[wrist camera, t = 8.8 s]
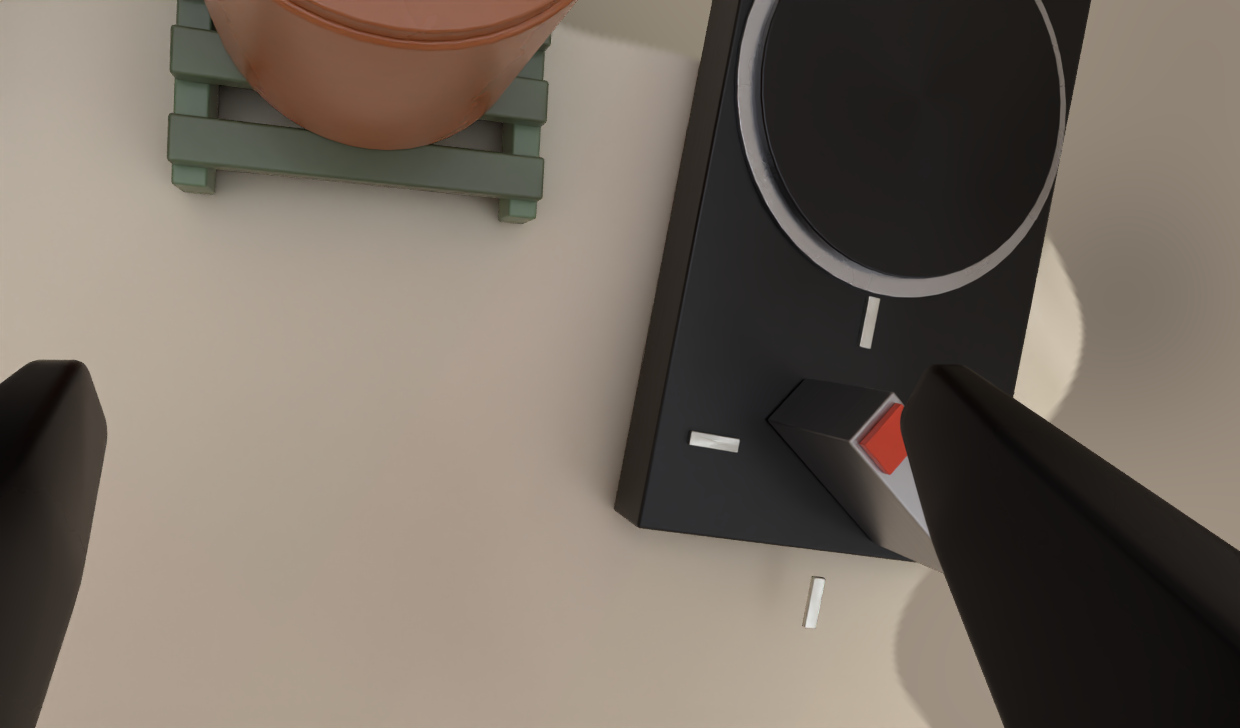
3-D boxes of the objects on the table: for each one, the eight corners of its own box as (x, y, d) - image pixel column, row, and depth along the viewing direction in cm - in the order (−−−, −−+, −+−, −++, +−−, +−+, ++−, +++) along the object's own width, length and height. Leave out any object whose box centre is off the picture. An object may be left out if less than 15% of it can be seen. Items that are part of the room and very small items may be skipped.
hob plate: (1022, 330, 25) (1035, 331, 24) (698, 251, 21) (706, 249, 21) (1091, -25, 25) (1106, -31, 24) (778, -162, 21) (788, -172, 21)
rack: (524, 223, 22) (552, 212, 19) (181, 191, 19) (156, 173, 17) (542, -132, 22) (574, -198, 19) (194, -213, 19) (170, -303, 16)
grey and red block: (909, 502, 24) (1018, 539, 20) (873, 543, 24) (977, 589, 20) (805, 377, 23) (901, 392, 19) (766, 419, 22) (855, 443, 19)
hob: (922, 616, 27) (970, 642, 25) (598, 584, 23) (623, 611, 21) (1044, -6, 27) (1103, -32, 25) (737, -134, 23) (775, -176, 21)
